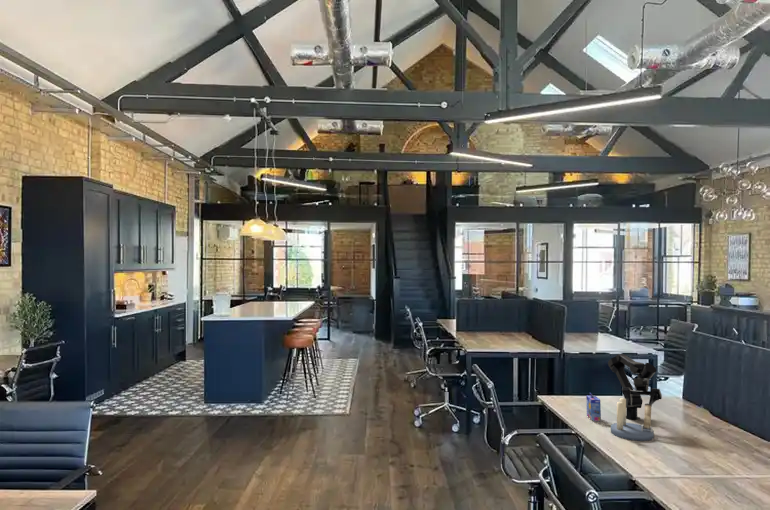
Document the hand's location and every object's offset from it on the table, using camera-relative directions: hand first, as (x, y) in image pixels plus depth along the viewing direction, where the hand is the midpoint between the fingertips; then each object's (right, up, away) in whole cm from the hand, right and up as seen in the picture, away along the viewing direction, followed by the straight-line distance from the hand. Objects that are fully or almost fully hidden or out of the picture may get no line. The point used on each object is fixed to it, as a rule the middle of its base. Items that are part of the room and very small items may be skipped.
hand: (639, 405), depth 271 cm
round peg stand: (-7, -13, -6) cm, 16 cm away
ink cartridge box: (-16, -14, +21) cm, 30 cm away
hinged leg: (-1, -8, -10) cm, 13 cm away
